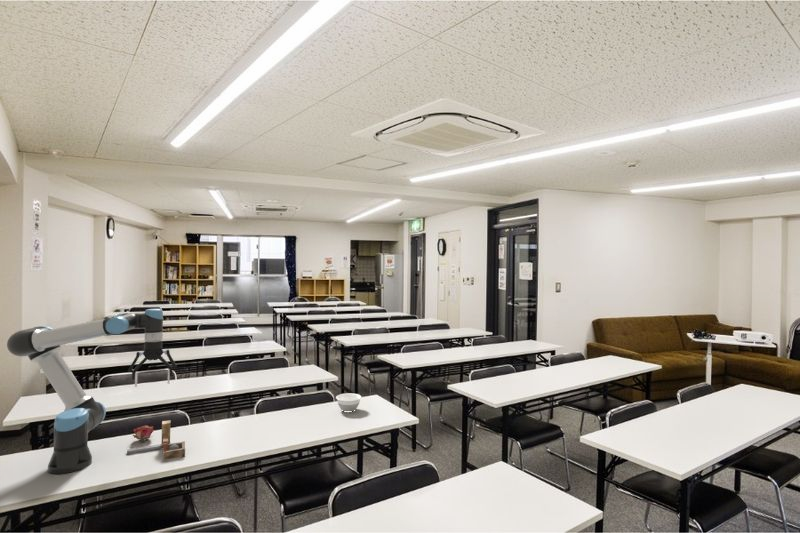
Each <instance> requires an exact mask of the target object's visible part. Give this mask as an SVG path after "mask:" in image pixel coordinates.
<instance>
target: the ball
mask: <svg viewBox="0 0 800 533" xmlns="http://www.w3.org/2000/svg"><path fill="white" fill-rule="evenodd" d="M175 449H179V446H178V445H176V444H173V445H171V446H170V447H169V449H168V451H169V450H175Z"/></svg>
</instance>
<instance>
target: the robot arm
mask: <svg viewBox="0 0 800 533" xmlns="http://www.w3.org/2000/svg"><path fill="white" fill-rule="evenodd" d="M163 312H164V311H163V310H162V308H148V309H145V311H144V312H141V313H138V312H137V313H133V312H132V313H131V312H130V313H128V312H125V313H124V312H122V313H118V314H117V315H116V316H113V317H107V318H103V319H98V320H94V321H93V320H92V321H87V322H82V323H77V324H73V325H67V326H63V327H57V328H52V327H50V326H45V325H44V326H41V325H40V326H34V327H31V328H26V329H22V330H18V331H15V332H14V333H13V334H11V335H10V336H9V337H8V340H7V342H6V347H7V350H8V351H9V353H11V355H13V356H17V357H28V359H29V360H30V362H34V363H37V364H38V366H39V368H40V369H41V371H42V372H43V374H44V375H45V377H46V378H47V380H48V382H49V383H50V384H51V386H52V388H53V390H54V391H55V392H56V394H57V395H58V397H59V399H60V400H61V401H62V403H63V405H64V407H65V408H64V411H62V412H60V413H59V414H57V415H56V416H55V419H54V423H53V452H52V454H51V457H50V460H49V462H48V464H47V472H48V473H49V474H52V475H64V474H69V473H74V472H76V471H79V470H82V469H84V468H87V467H89V466H90V465H91V464H92V462H93V456H92V452H91V451H90V448H89V446H88V439H89V435H88V434H89V433H90V432H91V431H92V430H94V428H96V427H98V426H99V425H100V424H101V423H102V422H103V421H104V419H105V417H106V415H107V414H106V413H107V410H106V407H105V405H104V404H102V402H100V401H97V400H95V399H94V397H93V396H92V395H87V394H86V391H85V390H84V389H83V387H82V386H81V384H80V383H79V381H78V380H77V378H76V377H75V375H74V374H73V372H72V370H71V368H70V367H69V365H68V363H67V362H66V361H65V359H64V358H63V356H62V355H61V353H60V352H61V348H62V345H67V344H68V345H69V344H72V343H77V342H82V341H86V340H87V341H88V340H91V339H96V338H101V337H102V338H103V337H106V336H111V335H118V334H119V335H120V334H122V333H125V332H127V331H131V330H143V329H144V345H143V346H144V347H143V350H144V351H140V350H138V351H136V355H135V357H134V359H133V361H132V362H131V364H130V366H129V368H128V370H127V372H128V373H132V374H131V379H132V380H133V381H134V388H137V387H138V370H139V369H140V368H141V367H142V366H143V365H144V364H145V362H147V361H150V362H151V361H157V360H160V361H161V362H162V363H163V365H165V366H166V367H167V368H168V369H167V384H168V385H169V384H170V380H171V379H170V378H171V377H172V376H173V370H174V369H177V363H176V362H175V360H174V359H173V357H172V355H171V353H170V349H168V348H167V349H166V350H163V341H162V340H163V335H164V334H163V333H164V332H163V331H164V330H163V329H164V328H163V326H164V324H163V323H164V317H163V316H164V315H163V314H164V313H163ZM163 354H164V355H166V356H167V358H168V360H169V362H170V363H171V364H170V363H169V362H168V361H167V360H166V359H165V358H164V357H163ZM142 355H143V357H144V358H143V359H142V360H141V361H140V362H139V363H138V364H137V365H136V363H137V361H138V360H139V357H141V356H142ZM135 365H136V366H135ZM134 366H135V368H134ZM133 368H134V369H133Z"/></svg>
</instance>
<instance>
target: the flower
mask: <svg viewBox="0 0 800 533" xmlns="http://www.w3.org/2000/svg"><path fill="white" fill-rule="evenodd" d="M132 431H133V432H134V434H132V437H133V438H136V439H137V440H139V441H142V443H144V444H145V441H147V440H149V439H150V438H151V437H152V433H153V432H154V426H153V425H152V426H149V425H147V424H146V425H142V426H138V427H136V428H134V429H133V430H132Z"/></svg>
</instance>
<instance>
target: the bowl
mask: <svg viewBox="0 0 800 533" xmlns="http://www.w3.org/2000/svg"><path fill="white" fill-rule="evenodd" d="M335 399H336V400H337V405H338V406H339V409H340V410H341V411H342V410H343V411H354V410H355V411H356V410H357V408H358V407H359V405H360V401H361V399H362V396H361V395H360V394H359V393H354V392H353V393H351V392H349V393H348V392H347V393H340V394H338V395H336V397H335Z"/></svg>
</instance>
